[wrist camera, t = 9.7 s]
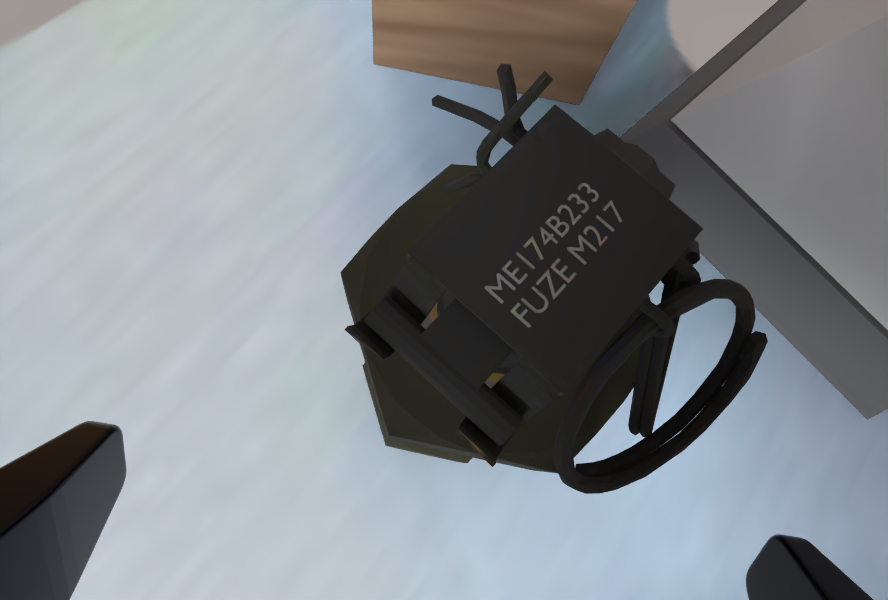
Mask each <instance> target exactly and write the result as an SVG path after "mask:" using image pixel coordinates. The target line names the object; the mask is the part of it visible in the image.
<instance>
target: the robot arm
mask: <svg viewBox="0 0 888 600" xmlns="http://www.w3.org/2000/svg"><path fill="white" fill-rule="evenodd" d="M125 477H126V462H125V453H124V444H123V435H122V431H121V429H120V428H119V427H118V426H116V425H113V424H107V423H101V422H94V421H87V422H84V423H81V424H79V425H77V426H76V427H74V428H72V429H70V430H68V431H66V432H65V433H63V434H61V435H59V436H57V437H56V438H54V439H52V440H50V441H48V442H46V443H45V444H43V445H41V446H39V447H37V448H36V449H34V450H32V451H30V452H28V453H26V454H25V455H23V456H21V457H19V458H17V459H16V460H14V461H12V462H10V463H8V464H6V465H5V466H3V467H1V468H0V600H70V598H71V596H72V594H73V592H74V590H75V588H76V586H77V584H78V582H79V580H80V577H81V575H82V573H83V571H84V569H85V567H86V564H87V562H88V560H89V558H90V556H91V554H92V552H93V549H94V547H95V545H96V543H97V541H98V539H99V537H100V534H101V532H102V530H103V528H104V526H105V524H106V521H107V519H108V517H109V515H110V513H111V511H112V509H113V506H114V504H115V502H116V500H117V498H118V496H119V494H120V491H121V489H122V487H123V484H124V481H125ZM746 587H747V593H748V598H749V600H873V599H872V598H871V597H870V596H869V595H868V594H866V593H865V592H864V591H863V590H862V589H861V588H860V587H859V586H858V585H857V584H855V583H854V582H853V581H852V580H851V579H850V578H849V577H848V576H847V575H845V574H844V573H843V572H842V571H841V570H840V569H839V568H838V567H837V566H835V565H834V564H833V563H832V562H831V561H830V560H829V559H828V558H827V557H826V556H824V555H823V554H822V553H821V552H820V551H819V550H818V549H817V548H816V547H814V546H813V545H812V544H811V543H810V542H809V541H807V540H805V539H802V538H798V537H792V536H786V535H780V534H778V535H774V536H772V537H771V538H770V539H769V540H768V541H767V543H766V544H765V545H764V547H763V548H762V550H761V551H760V553H759V554H758V556H757V557H756V559H755V560H754V561H753V563H752V564H751V566H750V567H749V569H748V572H747V577H746Z"/></svg>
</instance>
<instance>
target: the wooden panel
mask: <svg viewBox="0 0 888 600" xmlns="http://www.w3.org/2000/svg"><path fill="white" fill-rule="evenodd" d="M636 1H637V0H372V21H373V60H374V64H377V65H382V66H387V67H392V68H397V69H402V70H407V71H412V72H417V73H422V74H427V75H432V76H437V77H442V78H447V79H452V80H457V81H462V82H467V83H472V84H477V85H482V86H487V87H492V88H497V89H501V88H500V84H499V79H498V75H497V69H498V68H499V66H500V64H511V67H512V72H513V76H514V81H515V85H516V92H517V93H522V94H524V93H525V92H526V91H527V90H528V89H529V88H530V86H531V85H532V84H533V83H534V82H535V81H536V80H537V78H538V77H539V76H540V75H541V74H542V73H543V72H544V71H546V72H547V73H548V74H549V75H550V76H551V77H552V79H553V81H552V82H551V83H550V84H549V85H548V86H547V87H546V89H545V90H544V91H543V92H542V93H541V94H540V95H539V96H538V97H542V98H547V99H552V100H557V101H562V102H567V103H572V104H577V105H579V103H580V101H581V100H582V98H583V96H584V94H585V92H586V91H587V89H588V87H589V85H590V84H591V82H592V80H593V78H594V76H595V75H596V73H597V71H598V69H599V67H600V66H601V64H602V62H603V60H604V59H605V57H606V55H607V53H608V51H609V50H610V48H611V46H612V44H613V42H614V41H615V39H616V37H617V35H618V33H619V32H620V30H621V28H622V26H623V25H624V23H625V21H626V19H627V17H628V16H629V14H630V12H631V10H632V8H633V7H634V5H635V3H636Z"/></svg>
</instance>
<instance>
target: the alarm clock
mask: <svg viewBox="0 0 888 600" xmlns="http://www.w3.org/2000/svg"><path fill="white" fill-rule="evenodd" d="M620 139H621V140H623V141H624V142H626V143H630V144H635V145H638V146H639V147H640V148H642V149H643V150H644V151H645V152H647V153H648V154H649V155H650V156H652V157H653V158H654V159H655V161H656V164H657V166H658V169H659V171H660V172H661V173H662V174H663V175H665V176H666V177H667V178H668V179H669V180H671V181H672V182H673V183H674V184H675V188H674V190H673V192H672V195H671V197H670V199H669V200H670V201H672V202H673V203H674V204H675V205H676V206H677V207H679V208H680V209H681V210H682V211H683V212H684V213H686V214H687V215H688V216H689V217H690V218H691V219H693V220H694V221H695V222H696V223H697V224H698V225H700V226H701V227H702V228H703V230H702V231H701V232H700V233H699V234H698V236H697V237H696V238H695V239H694V240H696V241H697V242H698V243H699V252H700V253H701V254H702V255H703V256H704V257H705V258H706V259H707V260H708V261H709V262H710V263H711V264H712V265H713V266H714V267H715V268H716V269H717V270H718V271H719V272H720V273H721V274H722V275H723V276H724V277H725V278H726V279H729V280H733V281H735V282H738V283H740V284H742V285H743V286H744V287H745V288H746V289H747V290H748V291H749V292H750V294H751V296H752V299H753V301H754V307H755V308H756V309H757V310H758V311H759V312H760V313H761V314H762V315H763V316H764V317H765V318H766V319H767V320H768V321H769V322H770V323H771V324H772V325H773V326H774V327H775V328H776V329H777V330H778V331H779V332H780V333H781V334H782V335H783V336H784V337H785V338H786V339H787V340H788V341H789V342H790V343H791V344H792V345H793V346H794V347H795V348H796V349H797V350H798V351H799V352H800V353H801V354H802V355H803V356H804V357H805V358H806V359H807V360H808V361H809V362H810V363H811V364H812V365H813V366H814V367H815V368H816V369H817V370H818V371H819V372H820V373H821V374H822V375H823V376H824V377H825V378H826V379H827V380H828V381H829V382H830V383H831V384H832V385H833V386H834V387H835V388H836V389H837V390H838V391H839V392H840V393H841V394H842V395H843V396H844V397H845V398H846V399H847V400H848V401H849V402H850V403H851V404H852V405H853V406H854V407H855V408H856V409H857V410H858V411H859V412H860V413H861V414H862V415H863V416H864V417H865V418H866V419H869V418H871V417H873V416H875V415H877V414H878V413H880V412H882V411H884V410H886V409H887V408H888V0H778V1H777V2H776V3H775V4H774V5H773V6H771V7H770V8H769V9H768V10H767V11H766V12H765V13H763V14H762V15H761V16H760V17H759V18H758V19H756V20H755V21H754V22H753V23H752V24H751V25H749V26H748V27H747V28H746V29H745V30H744V31H743V32H741V33H740V34H739V35H738V36H737V37H736V38H734V39H733V40H732V41H731V42H730V43H729V44H727V45H726V46H725V47H724V48H723V49H722V50H720V52H718V53H717V54H716V55H715V56H714V57H712V58H711V59H710V60H709V61H708V62H707V63H705V64H704V65H703V66H702V67H701V68H700V69H698V70H697V71H696V72H695V73H694V74H693V75H692V76H691V77H690V78H689V79H687V80H686V81H685V82H684V83H683V84H682V85H680V86H679V87H678V88H677V89H676V90H675V91H673V92H672V93H671V94H670V95H669V96H668V97H667V98H665V99H664V100H663V101H662V102H661V103H660V104H658V105H657V106H656V107H655V108H654V109H653V110H651V111H650V112H649V113H648V114H647V115H646V116H644V117H643V118H642V119H641V120H640V121H639V122H638V123H636V124H635V125H634V126H633V127H632V128H631V129H629V130H628V131H627V132H626V133H625V134H624V135H622V136H621V137H620Z"/></svg>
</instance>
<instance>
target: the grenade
mask: <svg viewBox="0 0 888 600" xmlns="http://www.w3.org/2000/svg"><path fill="white" fill-rule="evenodd" d="M497 75H498V79H499V84H500V88H501V92H502V98H503V106H504V113H505V116H504V117H503V118H502V119H501V120H500V121H498V120H497V119H495V118H493V117H491V116H489V115H487V114H485V113H484V112H482V111H479V110H477V109H474V108H471V107H469V106H466V105H463V104H461V103H458V102H455V101H453V100H450V99H447V98H445V97H442V96H439V95H437V96H435V97H434V98H433V99H432V105H433V106H435V107H438V108H440V109H443V110H446V111H448V112H451V113H453V114H456V115H458V116H461V117H463V118H466V119H469V120H471V121H474V122H476V123H477V124H479V125H481V126H483V127H485V128H486V129H488V130H490V131H491V132H490V133H489V134H488V135H487V136H486V137H485V138H484V139H483V141H482V142H481V144H480V146H479V148H478V150H477V155H476V159H477V166H470V165H454V164H451V165H450V166H448V167H447V168H446V169H445V170H444V171H442V172H441V173H440V174H439V175H438V176H436V177H435V178H434V179H433V180H432V181H430V182H429V183H428V184H427V185H426V186H424V187H423V188H422V189H421V190H420V191H418V192H417V193H416V194H415V195H414V196H412V197H411V198H410V199H409V200H408V201H406V202H405V203H404V204H403V205H402V206H400V207H399V208H398V209H397V210H396V211H395V212H394V213H393V214H392V215H391V216H390V218H389V219H388V220H387V221H386V222H385V223H384V224H383V225H382V226H381V227H380V228H379V229H378V230H377V231H376V232H375V233H374V234H373V235H372V236H371V238H370V239H369V240H368V241H367V242H366V243H365V244H364V246H363V247H362V248H361V249H360V250H359V252H358V253H357V254H356V255H355V256H354V257H353V259H352V260H351V261H350V262H349V263H348V264H347V266H346V267H345V268H344V269H343V270H342V271H341V276H342V281H343V285H344V289H345V293H346V297H347V301H348V304H349V308H350V311H351V315H352V318H353V322H354V325H351V326H348V327H347V328H346V329H345V330H346V331H347V332H348V333H349V334H350V335H351V336H352V337H353V338H354V339H355V340H357V341H358V342H359V343H360V346H361V349H362V353H363V356H364V359H365V364H364V365H363V369H364V373H365V376H366V380H367V383H368V387H369V390H370V394H371V397H372V400H373V404H374V407H375V411H376V414H377V417H378V421H379V424H380V428H381V431H382V435H383V438H384V441H385V445H386V446H389V447H394V448H398V449H402V450H407V451H411V452H415V453H420V454H425V455H429V456H434V457H438V458H443V459H447V460H452V461H457V462H461V463H468V462H469V461H470V460H471V459H472V458H473V457H474V458H478V459H483V460H486V461H487V462H488V463H489V464H490V465H491V466H492V467H493V466H494V465H495V464H496V462H497V463H501V464H506V465H511V466H515V467H520V468H525V469H529V470H535V471H544V472H553V473H558V474H559V476H560V478H561V480H562V482H563V483H565V484H566V485H567V486H569V487H571V488H573V489H575V490H577V491H580V492H583V493H586V494H588V493H604V492H608V491H612V490H616V489H619V488H621V487H623V486H625V485H628V484H630V483H632V482H635V481H637V480H639V479H642V478H644V477H646V476H647V475H649V474H650V473H652V472H653V471H655V470H656V469H657V468H659V467H660V466H662V465H663V464H665V463H666V462H667V461H669V460H670V459H672V458H673V457H675V456H676V455H678V454H679V453H680V452H682V451H683V450H685V449H686V448H687V447H688V446H689V445H690V444H691V443H692V442H693V441H694V440H696V439H697V438H698V437H699V436H700V435H701V434H702V433H703V432H704V431H705V430H706V429H707V428H708V427H709V426H710V425H711V424H712V423H713V422H714V420H715V419H716V418H717V417H718V416H719V415H720V414H721V413H722V412H723V410H724V409H725V408H726V407H727V406H728V405H729V404H730V403H731V402H732V400H733V399H734V398H735V397H736V395H737V394H738V393H739V391H740V390H741V389H742V387H743V386H744V385H745V384H746V382H747V381H748V380H749V378H750V377H751V375H752V373H753V371H754V369H755V367H756V365H757V363H758V361H759V359H760V357H761V355H762V353H763V351H764V349H765V346H766V344H767V342H768V341H767V337H766V334H765V333H761V332H757V331H755V332H754V333H752V329H753V326H754V322H755V308H754V301H753V299H752V296H751V294H750V292H749V291H748V290H747V289H746V288H745V287H744V286H743V285H742V284H740V283H738V282H735V281H733V280H729V279H713V280H708V281H704V282H701V279H700V275H699V273H698V271H697V270H696V269H695V268H694V267H693V264H696V263H697V262H698V261H699V260H700V254H699V243H698V242H697V241H696V240H694V239H695V238H696V237H697V236H698V234H699V233H700V232H701V231H702V230H703V228H702V227H701V226H700V225H698V224H697V223H696V222H695V221H694V220H693V219H691V218H690V217H689V216H688V215H687V214H686V213H684V212H683V211H682V210H681V209H680V208H679V207H677V206H676V205H675V204H674V203H673V202H672V201H670V200H669V199H670V197H671V195H672V192H673V190H674V188H675V184H674V183H673V182H672V181H671V180H669V179H668V178H667V177H666V176H665V175H663V174H662V173H661V172H660V171H659V169H658V166H657V164H656V161H655V159H654V158H653V157H652V156H650V155H649V154H648V153H647V152H645V151H644V150H643V149H642V148H640V147H639V146H638V145H635V144H630V143H626V142H624V141H623V140H621V139H620V138H619V137H618V136H616V135H615V134H614V133H612V132H611V131H610V130H609V129H607V130H605V131H602V132H600V133H598V134H596V135H592V134H591V133H590V132H589V131H587V130H586V129H585V128H584V127H582V126H581V125H580V124H579V123H577V122H576V121H575V120H574V119H572V118H571V117H570V116H569V115H567V114H566V113H565V112H564V111H562V110H561V109H560V108H559V107H557V106H556V105H554V106H553V107H552V108H551V109H550V110H549V111H548V112H547V113H546V114H545V115H544V116H543V117H542V118H541V119H540V120H539V121H538V122H537V123H536V124H535V125H534V126H533V127H532V128H531V129H530V130H529V131H528V132H527V131H526V130H525V129H524V127H523V124H522V121H521V119H520V117H521V116H522V114H523V113H524V112H525V111H526V110H527V109H528V108H529V107H530V105H531V104H532V103H533V102H534V101H535V100H536V99H537V98H538V96H539V95H540V94H541V93H542V92H543V91H544V90H545V89H546V87H547V86H548V85H549V84H550V83H551V82H552V81H553V79H552V77H551V76H550V75H549V74H548V73H547V72H546V71H544V72H543V73H542V74H541V75H540V76H539V77H538V78H537V80H536V81H535V82H534V83H533V84H532V85H531V86H530V88H529V89H528V90H527V91H526V92H525V93H524V94H523V95H522V97H521V98H520V99H519V100H518V101H517V93H516V85H515V81H514V76H513V72H512V67H511V64H500V66H499V68H498V69H497ZM501 138H504V139H505V140H506V141H507V142H509V143H510V144H511V145H513V147H512V148H511V149H510V150H509V151H508V152H507V153H506V154H505V155H504V156H503V157H502V158H501V159H500V160H499V161H498V162H497V163H496V164H495V165H494V166H493V167H491V166H490V164H489V163H488V161H489V157H490V153H491V151H492V149H493V148H494V146H495V145H496V144H497V143H498V141H499V140H500V139H501ZM659 281H661V282H662V283H663V284H664V289H663V293H662V299H661V303H660V304H658V305H657V306H656V305H655V304H653V303H652V302H651V301H650V297H649V293H650V292H651V291H652V290H653V289H654V287H655V286H656V285H657V284H658V283H659ZM700 282H701V283H700ZM714 298H727V299H730V300H731V301H732V302H733V303H734V305H735V306H736V321H735V325H734V328H733V332H732V336H731V338H730V340H729V342H728V344H727V346H726V348H725V350H724V352H723V354H722V356H721V359H720V360H719V362H718V364H717V365H716V367H715V368H714V369H713V371H712V372H711V373H710V374H709V376H708V377H707V378H706V380H705V381H704V382H703V383H702V385H701V386H700V387H699V389H698V390H697V391H696V392H695V394H694V395H693V396H692V397H691V398H690V399H689V400H688V401H687V402H686V403H685V405H684V406H683V407H682V408H681V409H680V410H679V411H678V412H677V413H676V414H675V415H674V416H673V417H672V418H670V419H669V420H668V421H667V422H665V423H664V424H663V425H662V426H661V427H659V428H658V429H657V430H656V431H654V432H653V433H652V430H653V426H654V421H655V417H656V413H657V409H658V404H659V400H660V396H661V392H662V388H663V384H664V380H665V376H666V371H667V367H668V363H669V359H670V355H671V351H672V346H673V342H674V338H675V334H676V330H677V326H678V322H679V317H680V315H682V314H684V313H686V312H688V311H690V310H692V309H694V308H696V307H698V306H700V305H702V304H704V303H706V302H708V301H710V300H712V299H714ZM751 333H752V334H751ZM724 382H725V383H724ZM723 384H724V385H723ZM722 385H723V386H722ZM633 387H634V391H633V398H632V404H631V411H630V417H629V424H628V426H629V430H630V432H631V433H632V434H634V435H637V434H638V433H640V434H641V435H642V436H643V437H645V438H644V439H643V440H641V441H640V442H638V443H637V444H635V445H634V446H632V447H630V448H628V449H626V450H624V451H623V452H621V453H619V454H617V455H614V456H612V457H609V458H607V459H604V460H600V461H597V462H593V463H582V464H576V467H575V466H574V460H573V458H574V457H575V456H576V455H577V454H578V453H579V452H580V451H581V450H582V449H583V448H584V446H585V445H586V444H587V443H588V442H589V441H590V440H591V439H592V438H593V437H594V436H595V435H596V434H597V433H598V431H599V430H600V429H601V428H602V427H603V426H604V424H605V423H606V422H607V421H608V420H609V418H610V417H611V416H612V415H613V414H614V413H615V411H616V410H617V409H618V408H619V407H620V405H621V404H622V403H623V402H624V401H625V399H626V398H627V396H628V395H629V393H630V392H631V390H632V389H633ZM699 412H700V413H699ZM698 413H699V414H698ZM697 414H698V415H697ZM696 415H697V416H696ZM695 416H696V417H695ZM694 417H695V418H694ZM693 418H694V419H693ZM692 419H693V420H692ZM691 420H692V421H691ZM690 421H691V422H690ZM689 422H690V423H689ZM688 423H689V424H688ZM687 424H688V425H687ZM686 425H687V426H686ZM685 426H686V427H685ZM684 427H685V428H684ZM683 428H684V429H683ZM682 429H683V430H682ZM681 430H682V431H681ZM680 431H681V432H680ZM678 432H680V433H679V434H677V433H678ZM676 434H677V435H676ZM675 435H676V436H675ZM673 436H675V437H673ZM672 437H673V438H672ZM671 438H672V439H671ZM669 439H670V440H669ZM668 440H669V441H668ZM667 441H668V442H667ZM664 443H665V444H664ZM663 444H664V445H663ZM660 446H661V447H660Z"/></svg>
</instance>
